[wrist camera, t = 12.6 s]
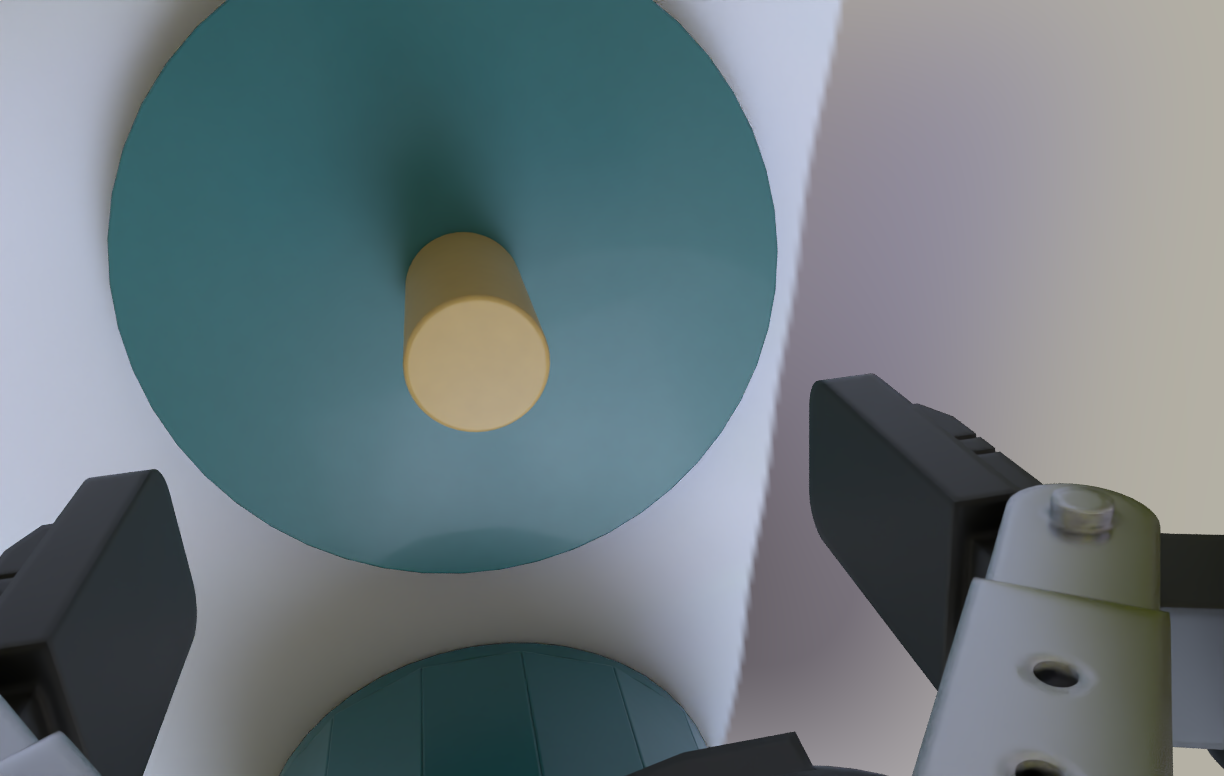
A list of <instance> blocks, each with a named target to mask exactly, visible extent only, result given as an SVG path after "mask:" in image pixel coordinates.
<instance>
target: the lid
mask: <svg viewBox="0 0 1224 776" xmlns="http://www.w3.org/2000/svg"><path fill="white" fill-rule="evenodd" d="M107 240H108V261H109V281H110V288H111V293H112V299H113V304H114V309H115V314H116V319H117V324H118V329H119V332H120V335H121V337H122V340H123V343H124V346H125V349H126V352H127V355H128V358H129V361H130V364H131V367H132V369H133V371H134V373H135V375H136V377H137V379H138V381H139V383H140V385H141V387H142V389H143V391H144V393H145V395H146V397H147V399H148V401H149V403H150V405H151V407H152V409H153V410H154V412H155V413H156V415H157V416H158V418H159V419H160V420H161V422H162V423H163V425H164V426H165V428H166V429H167V431H168V432H169V434H170V435H171V437H172V438H173V439H174V441H175V442H176V444H177V445H178V446H179V447H180V448H181V449H182V451H183V452H184V453H185V454H186V455H187V456H188V457H189V458H190V460H191V461H192V462H193V463H194V464H195V465H196V466H197V467H198V468H199V470H200V471H201V472H202V473H203V474H204V475H205V476H206V477H207V478H208V479H209V480H211V481H212V482H213V483H214V484H215V485H216V486H217V487H219V488H220V489H221V490H222V491H223V492H224V493H225V494H227V495H228V496H229V497H230V498H231V499H232V500H234V501H235V502H236V503H237V504H239V505H240V506H242V507H243V508H245V509H246V510H248V511H249V512H251V513H252V514H254V515H255V516H256V517H258V518H259V519H261V520H262V521H264V522H265V523H267V524H268V525H270V526H272V527H273V528H275V529H277V530H279V531H281V532H283V533H285V534H287V535H289V536H291V537H293V538H295V539H297V540H299V541H301V542H303V543H305V544H307V545H309V546H312V547H315V548H317V549H320V550H323V551H326V552H328V553H331V554H334V555H336V556H339V557H342V558H345V559H348V560H353V561H357V562H361V563H365V564H369V565H373V566H377V567H381V568H387V569H395V570H403V571H411V572H419V573H471V572H481V571H490V570H500V569H505V568H510V567H514V566H519V565H523V564H528V563H532V562H537V561H540V560H543V559H546V558H549V557H552V556H555V555H558V554H561V553H564V552H567V551H570V550H573V549H575V548H578V547H580V546H582V545H584V544H586V543H588V542H590V541H592V540H595V539H597V538H599V537H601V536H603V535H605V534H607V533H609V532H611V531H612V530H614V529H616V528H617V527H619V526H621V525H622V524H624V523H625V522H627V521H629V520H630V519H632V518H634V517H635V516H637V515H638V514H640V513H641V512H643V511H644V510H645V509H647V508H648V507H649V506H650V505H652V504H653V503H654V502H655V501H657V500H658V499H659V498H660V497H662V496H663V495H664V494H666V493H667V492H668V491H669V490H671V489H672V488H673V487H674V486H675V485H676V484H677V483H678V482H679V481H680V480H681V479H682V478H683V477H684V476H685V475H686V474H687V473H688V472H689V471H690V470H691V469H692V468H693V467H694V466H695V465H696V464H697V463H698V461H699V460H700V459H701V458H702V456H703V455H704V454H705V452H706V451H707V450H708V449H709V447H710V446H711V445H712V444H713V442H714V441H715V440H716V439H717V437H718V436H719V435H720V433H721V432H722V430H723V429H724V427H725V425H726V424H727V422H728V421H729V419H730V417H731V416H732V414H733V412H734V411H735V409H736V407H737V406H738V404H739V403H740V401H741V399H742V397H743V394H744V392H745V390H746V388H747V386H748V383H749V381H750V379H751V377H752V375H753V373H754V370H755V368H756V366H757V363H758V360H759V357H760V353H761V350H762V347H763V344H764V341H765V337H766V334H767V331H768V327H769V322H770V316H771V311H772V306H773V300H774V295H775V287H776V269H777V237H776V223H775V210H774V205H773V200H772V195H771V190H770V186H769V181H768V176H767V171H766V168H765V165H764V162H763V159H762V156H761V153H760V150H759V147H758V145H757V142H756V139H755V136H754V133H753V130H752V128H751V126H750V124H749V122H748V120H747V118H746V116H745V114H744V112H743V110H742V108H741V106H740V104H739V102H738V100H737V98H736V96H735V94H734V92H733V91H732V89H731V88H730V86H729V85H728V83H727V82H726V80H725V79H724V78H723V76H722V75H721V73H720V72H719V70H718V69H717V67H716V66H715V64H714V63H713V61H712V60H711V59H710V57H709V56H708V54H707V53H706V52H705V51H704V50H703V49H702V48H701V47H700V46H699V44H698V43H697V42H696V41H695V40H694V39H693V38H692V37H691V36H690V35H689V33H688V32H687V31H686V30H685V29H684V28H683V27H682V26H681V25H680V23H679V22H678V21H676V20H675V19H674V18H673V17H672V16H670V15H669V14H668V13H667V12H666V11H665V10H663V9H662V8H661V7H660V6H659V5H657V4H656V3H655V2H654V1H653V0H226V1H225V2H224V3H223V4H222V5H221V6H220V7H218V8H217V9H216V10H215V11H214V12H213V13H212V14H211V15H209V16H208V17H207V18H206V19H205V20H204V21H203V22H202V23H200V24H199V25H198V26H197V27H196V28H195V29H194V31H193V32H192V33H191V34H190V35H189V37H188V38H187V39H186V40H185V41H184V43H183V44H182V45H181V46H180V47H179V49H178V50H177V51H176V52H175V53H174V55H173V56H172V57H171V58H170V59H169V61H168V62H167V63H166V64H165V66H164V68H163V69H162V71H161V73H160V74H159V76H158V78H157V79H156V81H155V83H154V84H153V86H152V88H151V89H150V91H149V92H148V94H147V96H146V97H145V99H144V101H143V102H142V104H141V106H140V109H139V111H138V113H137V116H136V118H135V121H134V123H133V125H132V128H131V130H130V133H129V135H128V137H127V140H126V142H125V145H124V147H123V150H122V154H121V158H120V162H119V167H118V171H117V175H116V179H115V183H114V187H113V191H112V197H111V207H110V217H109V228H108V238H107Z"/></svg>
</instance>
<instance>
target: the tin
mask: <svg viewBox="0 0 1224 776" xmlns="http://www.w3.org/2000/svg"><path fill="white" fill-rule="evenodd" d="M704 748H707V746H706V744H705V742H704V740H703V738H702V736H701V734H700V732H699V730H698V728H697V727H696V725H695V724H694V723H693V721H692V720H691V718H690V717H689V716H688V714H687V713H686V712H685V710H684V709H683V708H682V707H681V706H680V705H679V704H678V703H677V702H676V701H675V700H674V699H673V698H672V697H671V696H670V695H669V694H668V693H667V692H666V691H665V690H663V689H662V688H661V687H659V686H658V685H657V684H655V683H654V682H652V681H651V680H650V679H648V678H647V677H646V676H644V675H642V674H640V673H638V672H636V671H635V670H633V669H631V668H629V667H627V666H625V665H623V664H621V663H619V662H616V661H614V660H611V659H608V658H605V657H603V656H600V655H597V654H595V653H591V652H586V651H582V650H578V649H573V648H569V647H564V646H555V645H546V644H537V643H502V644H493V645H484V646H476V647H469V648H464V649H460V650H456V651H451V652H447V653H442V654H438V655H435V656H432V657H429V658H426V659H424V660H421V661H418V662H415V663H412V664H409V665H406V666H404V667H402V668H400V669H398V670H396V671H394V672H392V673H389V674H387V675H385V676H383V677H381V678H379V679H377V680H375V681H374V682H372V683H371V684H369V685H367V686H366V687H364V688H363V689H361V690H359V691H358V692H356V693H354V694H353V695H351V696H350V697H349V698H347V699H346V700H345V701H344V702H342V703H341V704H340V705H339V706H337V707H336V708H335V709H333V710H332V711H331V712H330V713H328V714H327V715H326V716H325V717H324V718H323V719H322V720H321V721H320V722H319V723H318V724H317V725H316V726H315V727H314V728H313V729H312V730H311V731H310V732H309V733H308V734H307V736H306V737H305V738H304V739H303V740H302V742H301V743H300V744H299V746H298V747H297V748H296V750H295V751H294V752H293V754H292V755H291V756H290V758H289V759H288V761H287V762H286V764H285V766H284V768H283V770H282V772H281V774H280V775H279V776H626V775H628V774H631V773H633V772H636V771H638V770H641V769H643V768H646V767H648V766H651V765H653V764H656V763H658V762H661V761H663V760H666V759H668V758H670V757H673V756H675V755H678V754H680V753H683V752H688V751H693V750H699V749H704Z"/></svg>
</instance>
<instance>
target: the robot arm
mask: <svg viewBox="0 0 1224 776" xmlns="http://www.w3.org/2000/svg"><path fill="white" fill-rule="evenodd" d="M809 495H810V505H811V511H812V515H813V519H814V522H815V525H816V528H817V531H818V533H819V535H820V537H821V539H822V540H823V541H824V543H825V544H826V546H827V547H828V548H829V549H830V551H831V552H832V553H833V555H834V556H835V557H836V559H837V560H838V561H839V562H840V564H841V565H842V566H843V568H844V569H845V570H846V572H847V573H848V574H849V576H850V577H851V578H852V579H853V581H854V582H855V584H856V585H857V586H858V587H859V589H860V590H861V591H862V592H863V594H864V595H865V597H866V598H867V599H868V600H869V602H870V603H871V604H872V606H873V607H874V608H875V610H876V611H877V612H878V614H879V615H880V616H881V618H882V619H883V620H884V622H885V623H886V624H887V625H888V627H889V628H890V629H891V631H892V632H893V633H894V634H895V636H896V637H897V639H898V640H899V641H900V642H901V644H902V645H903V646H904V648H905V649H906V650H907V652H908V653H909V654H910V656H912V658H913V659H914V661H915V662H916V663H917V665H918V666H919V667H920V668H921V670H922V671H923V673H924V674H925V675H926V677H927V678H928V679H929V680H930V682H931V683H932V684H933V686H934V687H935V688H936V689H937V691H938V692H937V696H936V699H935V703H934V706H933V709H932V712H931V715H930V719H929V722H928V725H927V728H926V732H925V735H924V738H923V742H922V745H921V748H920V751H919V755H918V758H917V761H916V765H915V768H914V771H913V774H912V776H1173V747H1186V748H1201V749H1207V750H1208V751H1209V753H1210V754H1211V756H1212V757H1213V758H1214V759H1215V760H1216V761H1217V762H1218V763H1219V765H1220V766H1221V767H1222V768H1224V535H1201V534H1199V535H1198V534H1166V533H1165V534H1164V533H1160V523H1159V520H1158V518H1157V517H1156V515H1155V514H1154V513H1153V512H1152V511H1151V510H1150V509H1148V508H1147V507H1146V506H1145V505H1143V504H1142V503H1140V502H1138V501H1136V500H1134V499H1133V498H1130V497H1128V496H1125V495H1123V494H1120V493H1117V492H1114V491H1111V490H1107V489H1103V488H1099V487H1094V486H1088V485H1079V484H1063V483H1062V484H1061V483H1059V484H1045V485H1043V484H1042V483H1041V482H1039V481H1038V480H1037V479H1035V478H1034V477H1033V476H1031V475H1030V474H1029V473H1027V472H1026V471H1025V470H1023V469H1022V468H1021V467H1019V466H1018V465H1017V464H1015V463H1014V462H1013V461H1011V460H1010V459H1009V458H1007V457H1006V456H1005V455H1004V454H1002V453H1001V452H995V448H994V447H993V446H991V445H990V444H989V443H988V442H986V441H985V440H984V439H982V438H981V437H978V438H977V437H976V434H975V433H974V432H973V431H971V430H970V429H969V428H968V427H966V426H965V425H964V424H962V423H961V422H960V421H958V420H957V419H956V418H954V417H953V416H950V415H948V414H945V413H942V412H940V411H936V410H934V409H931V408H928V407H926V406H923V405H920V404H912V403H911V402H910V401H908V400H907V399H906V398H905V397H903V396H902V395H901V394H899V393H898V392H897V391H896V390H894V389H893V388H892V387H891V386H889V385H888V384H887V383H885V382H884V381H883V380H882V379H880V378H879V377H878V376H877V375H875V374H864V375H856V376H849V377H842V378H834V379H827V380H819V381H816V382H815V383H814V385H813V386H812V389H811V393H810V403H809ZM196 621H197V606H196V596H195V589H194V585H193V580H192V576H191V573H190V569H189V565H188V561H187V557H186V554H185V550H184V546H183V542H182V538H181V535H180V531H179V527H178V523H177V519H176V516H175V512H174V508H173V504H172V500H171V497H170V493H169V490H168V486H167V484H166V481H165V479H164V477H163V476H162V474H161V473H160V472H159V471H158V470H156V469H152V470H144V471H137V472H129V473H122V474H115V475H107V476H100V477H92V478H88V479H86V480H85V481H84V482H83V484H82V485H81V486H80V488H79V489H78V490H77V492H76V493H75V495H74V496H73V497H72V499H71V500H70V501H69V503H68V504H67V505H66V507H65V508H64V510H63V511H62V512H61V514H60V515H59V516H58V518H57V519H56V521H55V522H54V523H53V524H48V525H42V526H40V527H39V528H38V529H36V530H35V531H33V532H32V533H30V534H29V535H27V536H26V537H24V538H23V539H21V540H20V541H18V542H17V543H16V544H14V545H13V546H11V547H10V548H8V549H7V550H5V551H4V553H3V554H2V555H1V556H0V776H143V774H144V771H145V768H146V765H147V763H148V760H149V757H150V755H151V752H152V749H153V747H154V744H155V741H156V739H157V736H158V733H159V730H160V728H161V725H162V722H163V720H164V717H165V714H166V712H167V709H168V706H169V703H170V701H171V698H172V695H173V693H174V690H175V687H176V685H177V682H178V679H179V677H180V674H181V671H182V668H183V666H184V663H185V660H186V658H187V655H188V652H189V650H190V647H191V644H192V641H193V639H194V635H195V630H196ZM626 776H886V775H883V774H878V773H873V772H868V771H863V770H858V769H851V768H841V767H832V766H813V765H812V763H811V762H810V759H809V758H808V756H807V754H806V752H805V750H804V748H803V746H802V744H801V742H800V740H799V738H798V736H797V734H796V733H795V732H790V733H785V734H780V735H774V736H768V737H764V738H758V739H753V740H747V741H742V742H736V743H731V744H726V745H720V746H715V747H709V748H704V749H699V750H693V751H688V752H683V753H680V754H678V755H675V756H673V757H670V758H668V759H666V760H663V761H661V762H658V763H656V764H653V765H651V766H648V767H646V768H643V769H641V770H638V771H636V772H633V773H631V774H628V775H626Z"/></svg>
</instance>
